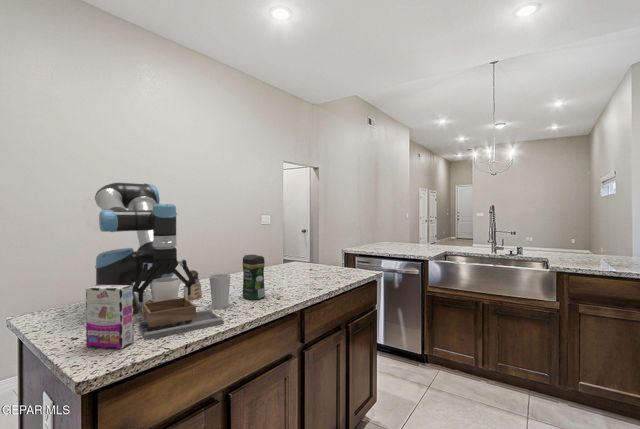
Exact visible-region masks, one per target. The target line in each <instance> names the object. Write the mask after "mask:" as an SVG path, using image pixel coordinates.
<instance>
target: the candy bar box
mask: <svg viewBox="0 0 640 429" xmlns="http://www.w3.org/2000/svg"><path fill="white" fill-rule="evenodd" d="M133 286H134V284H133V285H96V284H95V285H93V286H90V287H86V288H85V317H86V318H85V320H86V321H85V324H86V328H85V329H86V334H85V336H86V340H85V341H86V345H85V346H86V348H99V349H113V350H114V349H115V350H116V349H117V350H121V349H124V348H126V347H128V346H130V345H132V344H134V342H135V338H134V337H135V336H134V335H135V334H134V333H135V332H134V314H133Z"/></svg>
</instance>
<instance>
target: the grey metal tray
mask: <svg viewBox="0 0 640 429" xmlns="http://www.w3.org/2000/svg"><path fill="white" fill-rule="evenodd" d="M223 318H224V317H222V316H219V317H218V315H216V314H215V313H213V308H209V309H204V310H198V311H196V319H193V320H192V322H190V323H186V322H185V321H181V322H176V323H170V324H165V325H161V327H160V328H159V329H157V330H156V329H153V327H149V326H148V324H147V323H146V321H145V320H141V321H139V323H138V327H139V330H140V332H141V334H142V335H143V338H144V340H145V341H147V340H146V339H148V340H151V338H153V339H157V338H156V337H158V338H161V337H162V336H163V337H167V336H171V335H177V334H181V333H186V332H191V331H195V330H200V329H206V328H209V327H211V328H212V327H216V326H220V325H224V324H225V323H224V319H223Z"/></svg>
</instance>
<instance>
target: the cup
mask: <svg viewBox="0 0 640 429" xmlns="http://www.w3.org/2000/svg"><path fill="white" fill-rule="evenodd" d="M208 277H209V286H210V296H211V297H210V298H211V309H217V310H218V309H219V310H220V309H225V308H228V307H229V300H230V299H229V297H230V285H231V283H230V282H231V274H229V273H216V274H211V275H209V276H208Z"/></svg>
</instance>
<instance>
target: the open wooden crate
mask: <svg viewBox="0 0 640 429" xmlns="http://www.w3.org/2000/svg"><path fill="white" fill-rule="evenodd" d="M196 312H197V305H195V304H194V303H193V302H192V301H191V300H188V299H187V298H186V297H185V298H184V297H180V298H178V299H171V300H164V301H158V302H153V301H152V302H146V303H144V304H143V311H142V317H143V319H144V321H146V323H147V324H148V326H149V327H153V329H156V330H157V329H159V328H160V327H161V325H165V324H170V323H176V322H181V321H185V322H186V323H190V322H192V320H193V319H196Z"/></svg>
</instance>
